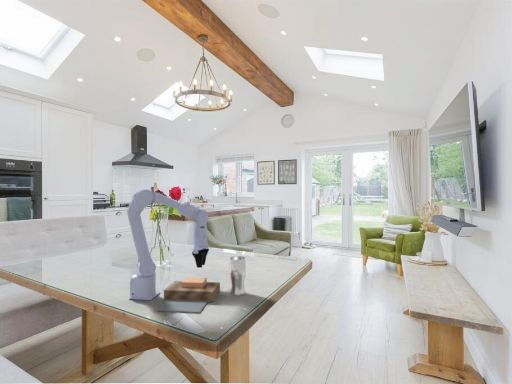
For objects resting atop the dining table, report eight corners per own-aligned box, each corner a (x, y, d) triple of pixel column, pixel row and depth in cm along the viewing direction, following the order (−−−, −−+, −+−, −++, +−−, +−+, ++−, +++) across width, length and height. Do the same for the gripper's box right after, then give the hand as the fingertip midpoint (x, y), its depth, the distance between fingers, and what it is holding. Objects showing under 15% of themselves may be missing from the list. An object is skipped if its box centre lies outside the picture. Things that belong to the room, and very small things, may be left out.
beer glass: (246, 290, 120) (245, 255, 120) (246, 296, 113) (245, 259, 113) (230, 290, 120) (229, 256, 120) (229, 296, 113) (228, 260, 113)
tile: (181, 287, 113) (181, 282, 113) (186, 282, 119) (186, 277, 119) (202, 287, 112) (202, 282, 112) (206, 282, 118) (206, 278, 118)
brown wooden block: (163, 300, 110) (163, 290, 110) (175, 290, 121) (175, 280, 121) (212, 302, 108) (212, 291, 108) (219, 291, 119) (219, 282, 119)
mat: (156, 311, 100) (156, 309, 100) (168, 300, 110) (168, 299, 110) (199, 313, 98) (199, 311, 98) (207, 301, 108) (207, 300, 108)
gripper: (204, 238, 117) (204, 271, 117) (213, 233, 131) (213, 262, 131) (188, 238, 118) (188, 270, 118) (199, 233, 132) (199, 261, 132)
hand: (200, 266), depth 125 cm, fingers open, 3 cm apart
